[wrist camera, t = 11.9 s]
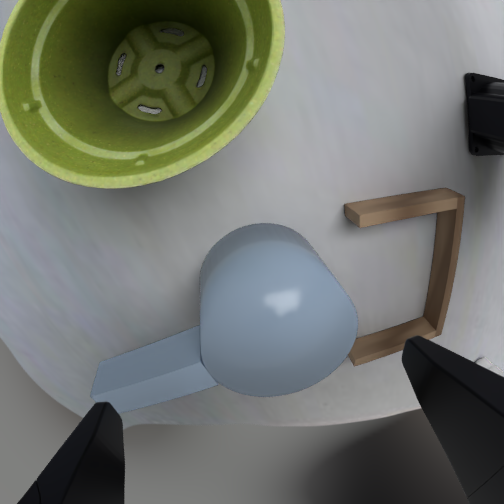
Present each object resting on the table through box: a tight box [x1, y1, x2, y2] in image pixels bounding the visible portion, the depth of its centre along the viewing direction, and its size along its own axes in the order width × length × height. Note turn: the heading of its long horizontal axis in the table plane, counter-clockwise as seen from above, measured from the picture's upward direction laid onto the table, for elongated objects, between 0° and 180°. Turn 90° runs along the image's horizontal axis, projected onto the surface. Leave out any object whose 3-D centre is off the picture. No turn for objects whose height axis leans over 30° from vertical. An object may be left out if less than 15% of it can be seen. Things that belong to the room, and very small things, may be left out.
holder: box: [344, 188, 465, 366], centre depth 21 cm, size 9×13×2 cm
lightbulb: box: [476, 358, 504, 377], centre depth 26 cm, size 6×6×11 cm
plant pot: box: [0, 0, 285, 189], centre depth 10 cm, size 9×9×9 cm
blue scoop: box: [90, 223, 358, 414], centre depth 18 cm, size 16×8×6 cm, turn 113°
